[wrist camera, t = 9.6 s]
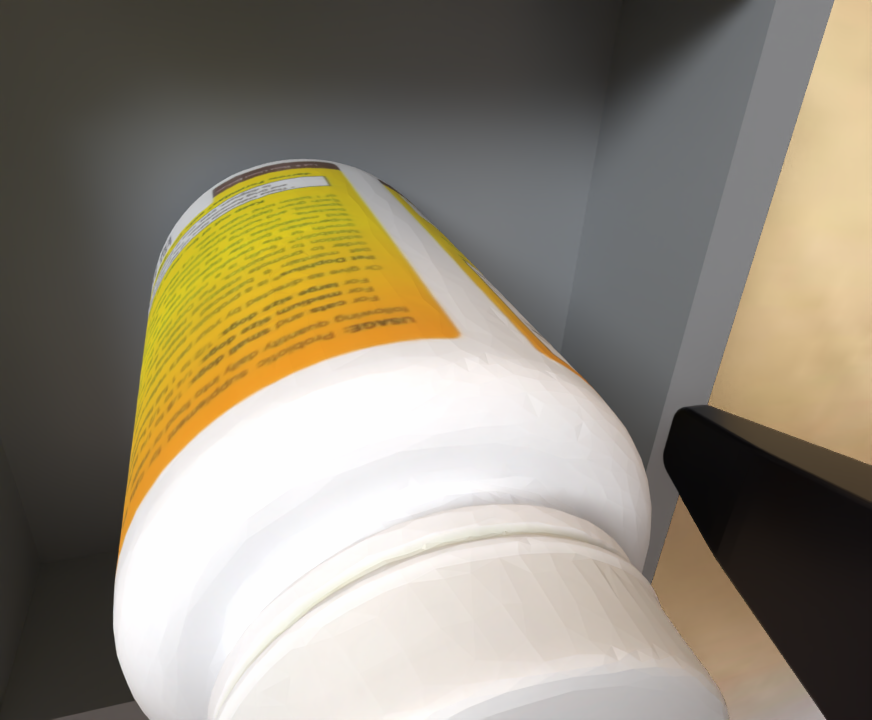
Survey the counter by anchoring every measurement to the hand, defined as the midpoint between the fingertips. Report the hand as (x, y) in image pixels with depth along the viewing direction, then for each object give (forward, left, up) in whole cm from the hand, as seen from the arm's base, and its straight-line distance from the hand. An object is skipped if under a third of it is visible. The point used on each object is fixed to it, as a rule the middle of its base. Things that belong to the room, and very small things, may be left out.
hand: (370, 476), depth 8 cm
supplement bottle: (0, 0, -6) cm, 6 cm away
